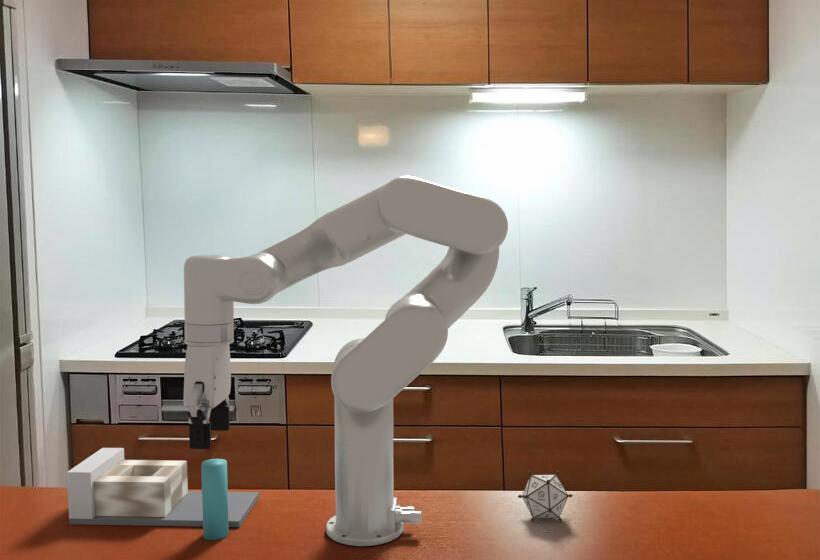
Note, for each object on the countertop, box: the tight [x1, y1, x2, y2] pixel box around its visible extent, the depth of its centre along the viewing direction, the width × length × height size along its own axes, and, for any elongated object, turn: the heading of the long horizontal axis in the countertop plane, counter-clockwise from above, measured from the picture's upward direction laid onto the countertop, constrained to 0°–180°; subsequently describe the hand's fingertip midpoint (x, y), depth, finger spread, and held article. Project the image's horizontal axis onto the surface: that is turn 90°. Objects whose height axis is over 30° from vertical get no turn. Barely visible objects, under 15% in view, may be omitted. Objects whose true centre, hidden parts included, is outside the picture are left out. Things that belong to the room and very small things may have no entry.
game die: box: [517, 470, 574, 523], centre depth 127 cm, size 9×8×10 cm
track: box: [66, 447, 260, 528], centre depth 131 cm, size 29×13×9 cm, turn 87°
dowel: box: [200, 458, 230, 541], centre depth 121 cm, size 4×4×12 cm
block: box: [94, 459, 189, 517], centre depth 131 cm, size 12×11×6 cm
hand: (210, 438), depth 120 cm, fingers open, 9 cm apart
